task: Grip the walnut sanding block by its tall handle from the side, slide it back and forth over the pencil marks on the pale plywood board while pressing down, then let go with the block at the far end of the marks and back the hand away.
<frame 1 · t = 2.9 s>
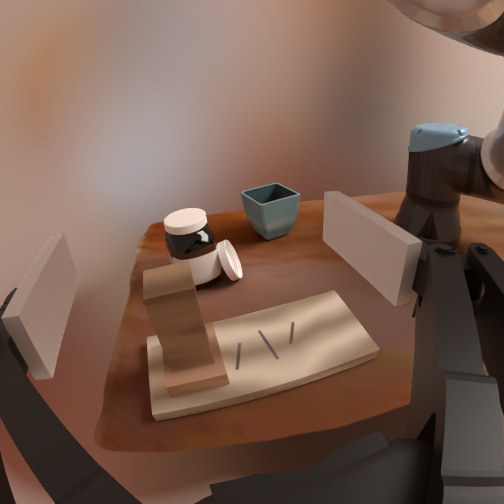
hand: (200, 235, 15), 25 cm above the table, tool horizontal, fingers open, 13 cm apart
plywood board: (257, 354, 40), on the table
sanding block: (194, 362, 38), point 2 cm above the table, touching plywood board
spread jar: (209, 277, 57), on the table
flower pot: (272, 233, 68), on the table
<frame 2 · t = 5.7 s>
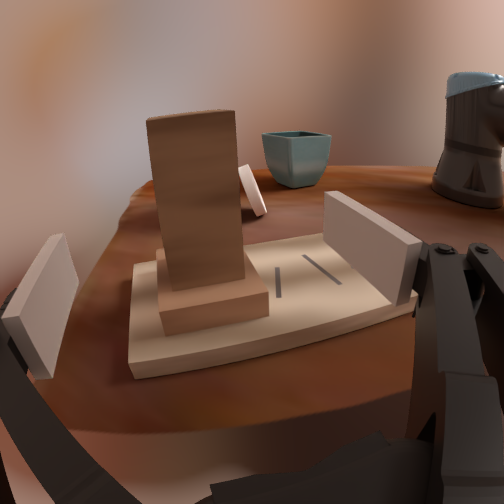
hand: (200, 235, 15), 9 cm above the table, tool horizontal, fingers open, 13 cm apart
plywood board: (303, 287, 27), on the table
sanding block: (206, 290, 25), point 2 cm above the table, touching plywood board
spread jar: (222, 215, 44), on the table
flower pot: (296, 185, 56), on the table
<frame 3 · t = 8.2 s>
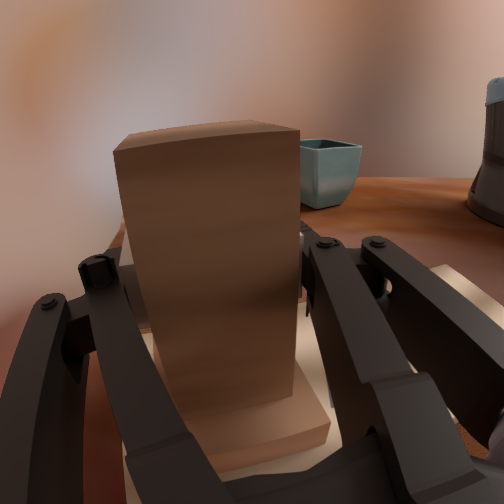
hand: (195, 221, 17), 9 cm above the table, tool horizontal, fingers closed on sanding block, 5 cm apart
plywood board: (357, 373, 18), on the table
sanding block: (229, 395, 16), point 2 cm above the table, touching gripper, plywood board
flower pot: (319, 204, 47), on the table
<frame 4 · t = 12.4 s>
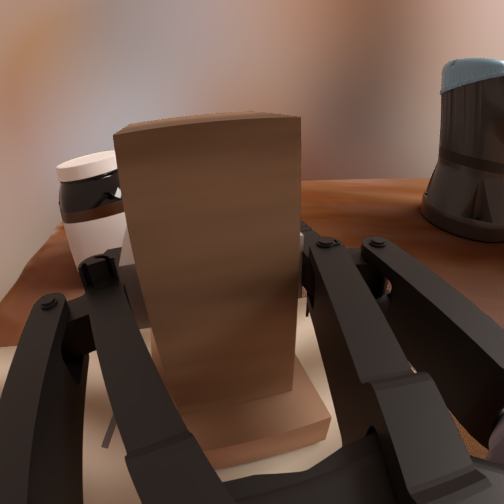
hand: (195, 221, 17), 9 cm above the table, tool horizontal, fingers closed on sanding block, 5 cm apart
plywood board: (166, 416, 16), on the table
sanding block: (228, 390, 16), point 2 cm above the table, touching gripper
spread jar: (128, 265, 33), on the table
when the fingers open (9 cm above the table, at t = 17.0 s): sanding block stays where it is, resting on plywood board.
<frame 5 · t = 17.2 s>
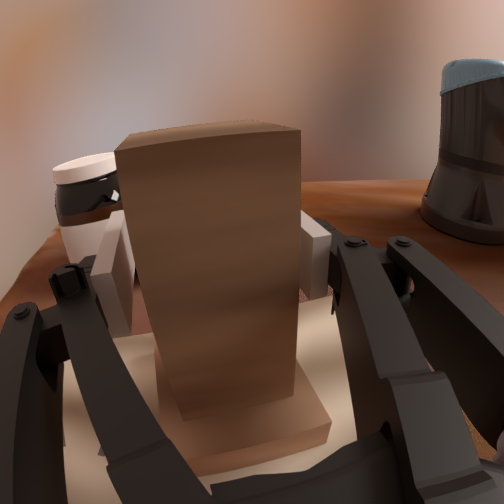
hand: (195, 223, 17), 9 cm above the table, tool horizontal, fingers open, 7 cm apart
plywood board: (163, 423, 16), on the table
sanding block: (230, 395, 16), point 2 cm above the table, touching plywood board
spread jar: (125, 268, 32), on the table
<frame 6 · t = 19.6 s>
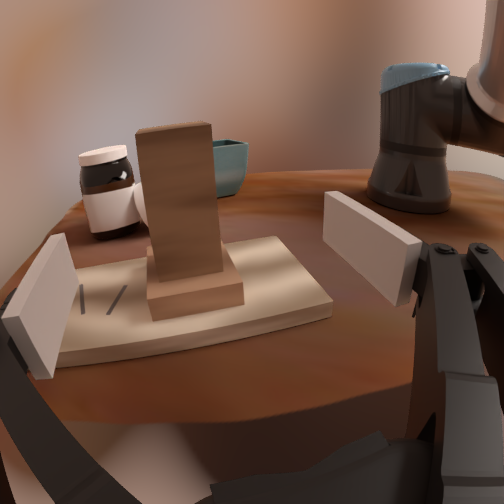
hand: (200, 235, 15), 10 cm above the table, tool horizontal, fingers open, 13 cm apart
plywood board: (148, 305, 27), on the table
sanding block: (191, 282, 27), point 2 cm above the table, touching plywood board
spread jar: (128, 230, 44), on the table
flower pot: (218, 195, 56), on the table
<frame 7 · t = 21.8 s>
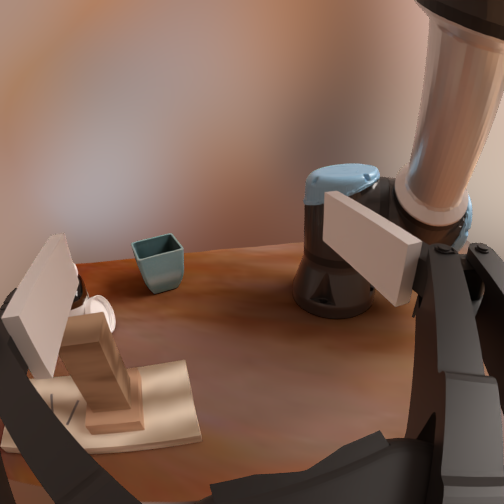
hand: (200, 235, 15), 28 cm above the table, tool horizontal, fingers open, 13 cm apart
plywood board: (93, 414, 35), on the table
sanding block: (117, 405, 35), point 2 cm above the table, touching plywood board
spread jar: (88, 328, 52), on the table
flower pot: (164, 286, 64), on the table
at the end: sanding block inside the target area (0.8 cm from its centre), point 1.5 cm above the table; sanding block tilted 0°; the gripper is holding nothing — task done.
